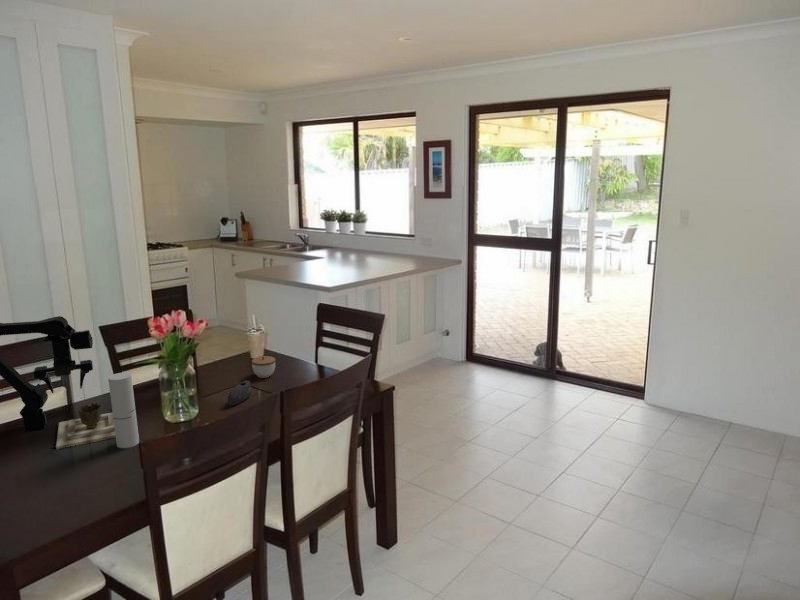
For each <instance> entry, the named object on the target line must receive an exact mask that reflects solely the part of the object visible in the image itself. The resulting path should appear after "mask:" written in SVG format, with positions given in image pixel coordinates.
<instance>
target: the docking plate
mask: <svg viewBox="0 0 800 600" xmlns="http://www.w3.org/2000/svg"><path fill="white" fill-rule="evenodd" d="M56 438H57V439H56V443H55V444H56V445H55V448H56V449H55V450H60V449H65V447H66V448H71V447H76V446H80V445H86V444H91V443H95V442H96V443H97V442H101V441H106V440H111V439H116V435H115V428H114V420H113V412H108V413H101V417H100V420H99V422H98V423H97V427H95V428H93V429H88V428H87V427H86V425H84V424H83V423H82V422H81V419H80V417H79V418H74V419H68V420H65V421H64V420H63V421H60V422H58V429H57V437H56ZM75 445H76V446H75ZM70 446H71V447H70Z"/></svg>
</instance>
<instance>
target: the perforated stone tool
mask: <svg viewBox="0 0 800 600" xmlns="http://www.w3.org/2000/svg"><path fill="white" fill-rule="evenodd" d="M251 394H252V386H251V381H249V380H247V379H245V380H244V381H241V382H240V383H238V384H237V385H236V386H235V387H233V389H232V390H231V391H230V392H229V394H228V396H227V402H228V405H230V406H236V405H238V404H240V403H242V402H244V401H245V400H246V399H248V398H249V397H250V396H251Z"/></svg>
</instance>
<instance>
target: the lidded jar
mask: <svg viewBox="0 0 800 600" xmlns="http://www.w3.org/2000/svg"><path fill="white" fill-rule="evenodd" d="M251 366H252V367H251V368H252V370H253V371H252V372H253V373H254V374H255V375H256V376H257V377H258V378H262V379H264V378H265V379H266V378H269V376H270V377H271V376H272V375H273V373H274V372H275V370H276V369H275V368H276V358H275V357H274V356H271V355H270V356H269V355H262V356H258V357H255V358H253V359H251Z"/></svg>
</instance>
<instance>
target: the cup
mask: <svg viewBox="0 0 800 600" xmlns="http://www.w3.org/2000/svg"><path fill="white" fill-rule="evenodd" d="M101 409H102V405H101V404H99V403H94V402H93V403H91V405H88V404H85V405H81V406H80V407H78V409H77V413H78V417H79V418H80V419H81V422H82V423H83V424H84V425H86V427H87V428H88V429H93V428H95V427H97V423H98V422H99V420H100V417H101V414H102V410H101Z"/></svg>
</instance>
